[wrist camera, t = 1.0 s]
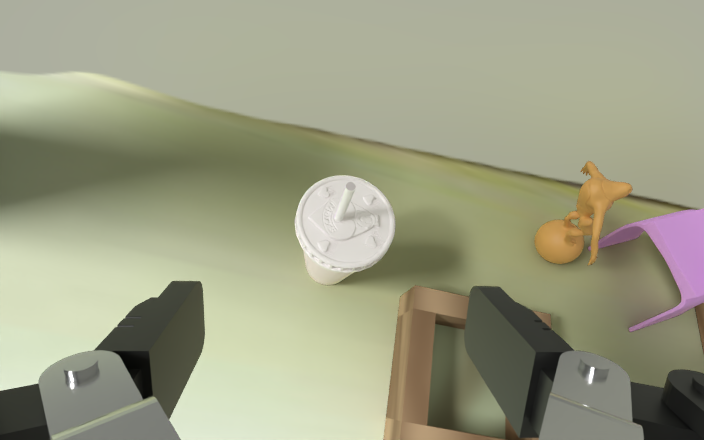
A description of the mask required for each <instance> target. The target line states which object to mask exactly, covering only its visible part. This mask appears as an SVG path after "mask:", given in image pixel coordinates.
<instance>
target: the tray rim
mask: <svg viewBox="0 0 704 440" xmlns="http://www.w3.org/2000/svg"><path fill="white" fill-rule="evenodd" d="M695 311H696V316H697V321H698V326H699V331H700V336H701V342H702V347H703V352H704V303H702V304H699V305H697V306H695Z"/></svg>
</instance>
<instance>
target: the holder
mask: <svg viewBox="0 0 704 440" xmlns="http://www.w3.org/2000/svg"><path fill="white" fill-rule="evenodd" d="M468 303H469V297H468V296H463V295H458V294H454V293H449V292H444V291H440V290H435V289H430V288H426V287H421V286H416V285H415V286H414V287H412V288H411V289H410V290H408V291H407V292H406V293H404V294H403V295H402V296H400V302H399V310H398V319H397V327H396V336H395V345H394V353H393V362H392V371H391V379H390V388H389V396H388V405H387V414H386V422H385V431H384V439H383V440H538V439H539V438H519V437H518V435H517V434H516V432H515V430H514V429H513V427H512V425H511V424H510V422H509V421H508V419H507V417H506V416H505V414H504V412H503V411H502V409H501V408H500V406H499V404H498V403H497V401H496V399H495V398H494V396H493V394H492V393H491V391H490V390H489V388H488V386H487V385H486V383H485V381H484V380H483V378H482V377H481V375H480V373H479V372H478V370H477V368H476V367H475V365H474V364H473V362H472V360H471V359H470V357H469V355H468V354H467V351H466V348H465V342H464V332H465V325H466V318H467V310H468ZM532 311H533V310H532ZM533 312H534V313H535V314H536V315H537V316H538V317H539V318H540V319H541V320H542V322H545V323H546V324H547V325H548V326H549V327H550V328H551V314H546V313H542V312H537V311H533Z"/></svg>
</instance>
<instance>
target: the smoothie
mask: <svg viewBox="0 0 704 440" xmlns="http://www.w3.org/2000/svg"><path fill="white" fill-rule="evenodd" d="M295 229H296V236H297V238H298V240H299V243H300V245H301V247H302V249H303V251H304V257H305V263H306V269H307V272H308V274H309V275H310V277H311V278H312V279H313V280H314V281H316V282H318V283H320V284H323V285H334V284H337V283H339V282H340V281H342V280H343V279H345V278H346V277H348V276H349V275H351V274H352V273H354V272H359V271H362V270H364V269H367V268H369V267H372V266H373V265H374V264H375V263H377V262H378V261H379V260H381V259H382V257H383V256H384V255H385V253H386V252H387V251H388V249H389V246H390V245H391V243H392V240H393V237H394V234H395V216H394V212H393V209H392V207H391V204H390V203H389V201H388V199H387V198H386V196H385V195H384V194H383V193H382V192H381V191H380V190H379V189H378V188H377V187H375V186H374V185H373V184H371V183H369V182H368V181H365V180H363V179H361V178H358V177H354V176H347V175H338V176H331V177H328V178H325V179H322V180H320V181H318V182H317V183H315V184H314V185H312V186H311V187H310V188H309V189H308V190H307V191H306V192H305V194H304V195H303V197H302V198H301V200H300V203H299V205H298V209H297V212H296V218H295Z"/></svg>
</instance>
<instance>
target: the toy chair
mask: <svg viewBox="0 0 704 440" xmlns="http://www.w3.org/2000/svg"><path fill="white" fill-rule="evenodd" d="M644 230H645V231H646V232H647V233H648V235H649V236H650V238H651V239H652V241H653V242H654V244H655V245H656V247H657V248H658V250H659V251H660V253H661V254H662V256H663V257H664V259H665V261H666V263H667V264H668V266H669V268H670V270H671V273H672V275H673V277H674V279H675V281H676V284H677V286H678V288H679V290H680V293H681V302H680V304H679V305H677V306H676V307H674V308H672V309H670V310H668V311H666V312H663V313H661V314H659V315H657V316H655V317H652V318H650V319H648V320H646V321H643V322H641V323H639V324H637V325H635V326H632V327H630V328H628V329H629V331H630V332H632V331H635V330H638V329H641V328H644V327H647V326H650V325H653V324H655V323H658V322H661V321H664V320H667V319H670V318H673V317H676V316H679V315H681V314H683V313H684V312H686V311H688V310H689V309H691V308H693V307H695V306H697V305H699V304H702V303H704V209H700V210H684V211H679V212H675V213H671V214H667V215H663V216H658V217H654V218H650V219H646V220H642V221H638V222H634V223H630V224H627V225H625V226H623V227H620V228H619V229H617V230H615V231H613V232H611V233H610V234H608V235H606V236H605V237H603V238H602V239H600V240H599V241H598V249H599V248H602V247H606V246H610V245H614V244H618V243H622V242H625V241H629V240H633V239H636V238H638V237H639V236H640V235H641V234H642V233H643V232H644ZM588 250H589V251H591V246H589V247H588Z"/></svg>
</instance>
